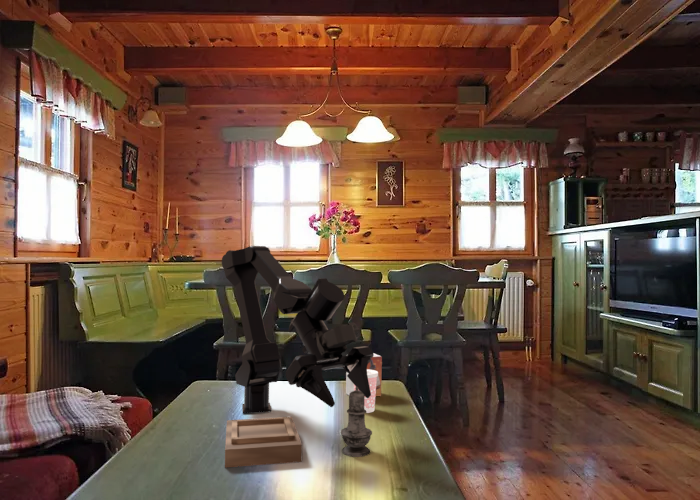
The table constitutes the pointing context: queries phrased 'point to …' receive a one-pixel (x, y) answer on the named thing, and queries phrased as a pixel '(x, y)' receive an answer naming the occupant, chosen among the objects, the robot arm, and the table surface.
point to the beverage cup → (370, 402)
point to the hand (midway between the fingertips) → (351, 401)
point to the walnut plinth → (262, 442)
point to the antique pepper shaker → (356, 427)
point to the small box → (372, 365)
